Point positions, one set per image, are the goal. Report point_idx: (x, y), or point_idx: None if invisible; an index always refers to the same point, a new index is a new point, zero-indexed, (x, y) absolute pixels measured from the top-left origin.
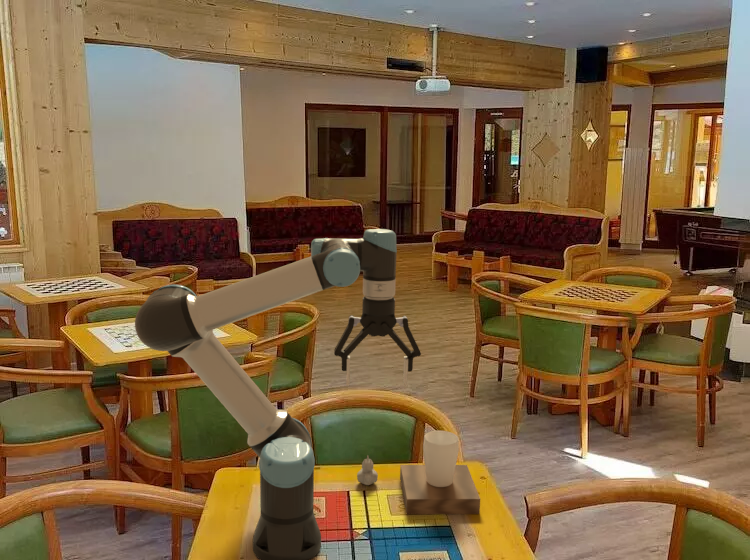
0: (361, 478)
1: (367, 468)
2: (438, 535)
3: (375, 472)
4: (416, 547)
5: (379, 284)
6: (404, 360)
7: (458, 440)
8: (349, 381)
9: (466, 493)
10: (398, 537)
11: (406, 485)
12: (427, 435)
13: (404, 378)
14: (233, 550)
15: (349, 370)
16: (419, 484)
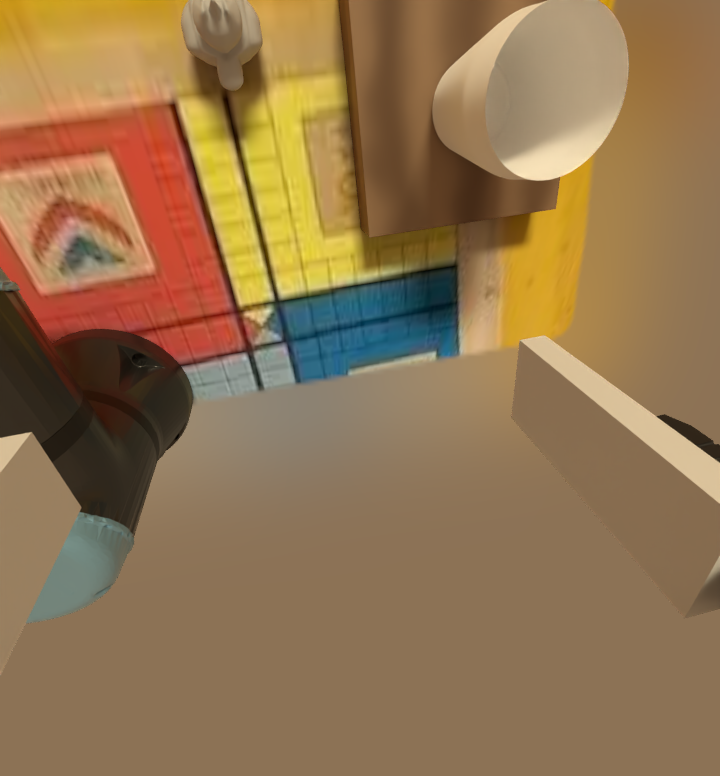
0: (205, 61)
1: (223, 51)
2: (427, 305)
3: (252, 29)
4: (380, 352)
5: None
6: (676, 546)
7: (616, 108)
8: (65, 538)
9: (529, 182)
10: (345, 326)
11: (368, 150)
12: (503, 34)
13: (544, 454)
14: None
15: (11, 643)
16: (407, 138)
